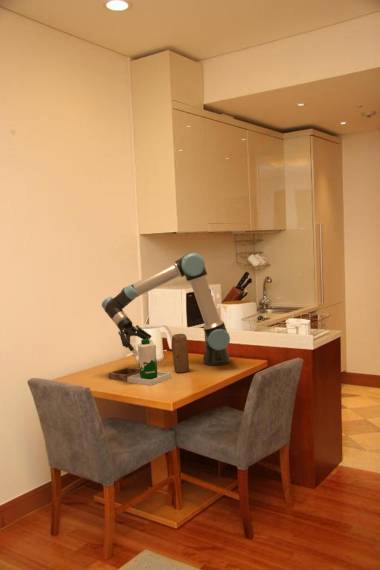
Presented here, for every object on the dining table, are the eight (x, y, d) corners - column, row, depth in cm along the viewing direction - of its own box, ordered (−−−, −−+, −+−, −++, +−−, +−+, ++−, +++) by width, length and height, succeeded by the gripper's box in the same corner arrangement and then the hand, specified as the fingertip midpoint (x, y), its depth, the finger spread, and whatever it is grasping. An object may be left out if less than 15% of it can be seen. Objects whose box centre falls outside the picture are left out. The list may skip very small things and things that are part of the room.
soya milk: (154, 375, 284) (151, 338, 283) (159, 379, 276) (157, 340, 274) (138, 378, 281) (135, 340, 279) (143, 382, 273) (140, 342, 271)
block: (190, 372, 290) (187, 335, 288) (176, 374, 288) (174, 336, 286) (185, 368, 300) (183, 332, 299) (172, 369, 298) (169, 333, 297)
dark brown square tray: (146, 375, 289) (145, 369, 289) (128, 381, 278) (127, 375, 278) (127, 372, 298) (126, 367, 297) (108, 378, 286) (108, 373, 286)
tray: (171, 377, 280) (171, 372, 280) (151, 385, 267) (150, 380, 267) (148, 374, 290) (147, 370, 290) (127, 382, 277) (127, 377, 277)
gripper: (135, 323, 297) (158, 351, 289) (102, 330, 277) (126, 362, 269) (141, 313, 294) (165, 342, 286) (109, 320, 274) (133, 352, 266)
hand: (146, 352), depth 278 cm, fingers open, 13 cm apart
